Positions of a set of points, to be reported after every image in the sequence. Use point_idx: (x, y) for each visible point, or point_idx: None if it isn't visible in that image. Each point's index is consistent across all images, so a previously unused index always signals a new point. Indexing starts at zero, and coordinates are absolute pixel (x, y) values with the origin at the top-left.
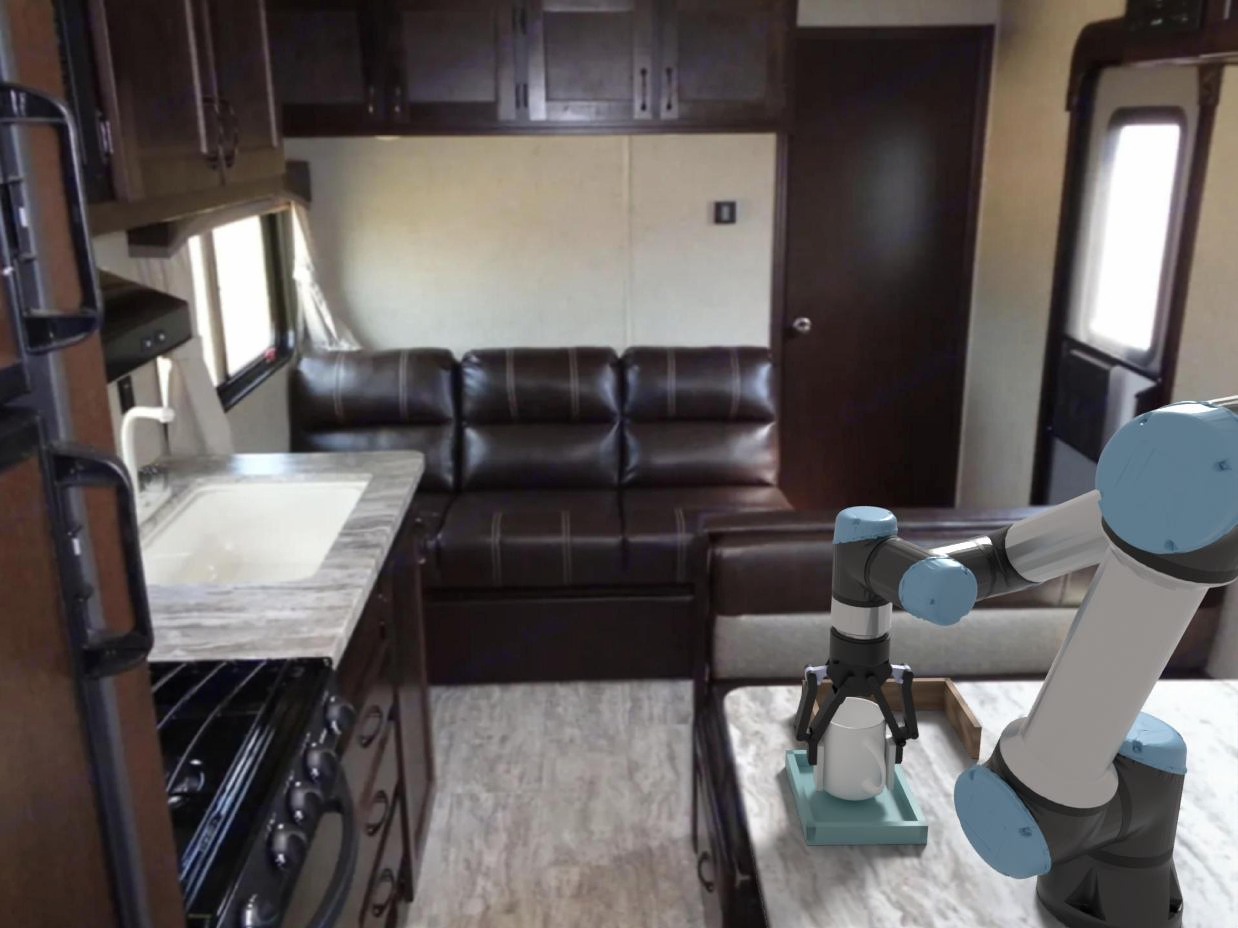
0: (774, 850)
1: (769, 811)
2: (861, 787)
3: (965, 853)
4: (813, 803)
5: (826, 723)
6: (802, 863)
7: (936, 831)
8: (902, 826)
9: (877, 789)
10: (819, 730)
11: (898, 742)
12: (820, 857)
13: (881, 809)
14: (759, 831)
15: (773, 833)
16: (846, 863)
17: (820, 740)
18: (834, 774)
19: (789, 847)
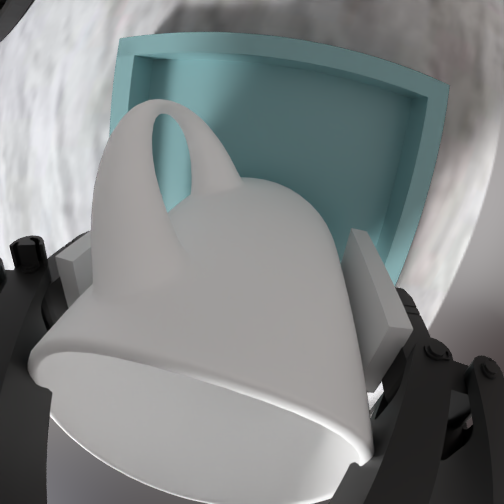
0: (487, 101)
1: (449, 229)
2: (242, 182)
3: (93, 26)
4: (360, 223)
5: (406, 442)
6: (449, 40)
7: (111, 89)
8: (181, 33)
9: (200, 123)
10: (431, 401)
11: (42, 263)
12: (410, 40)
13: None
14: (491, 170)
15: (473, 154)
16: (358, 4)
17: (373, 366)
18: (326, 239)
19: (461, 96)
